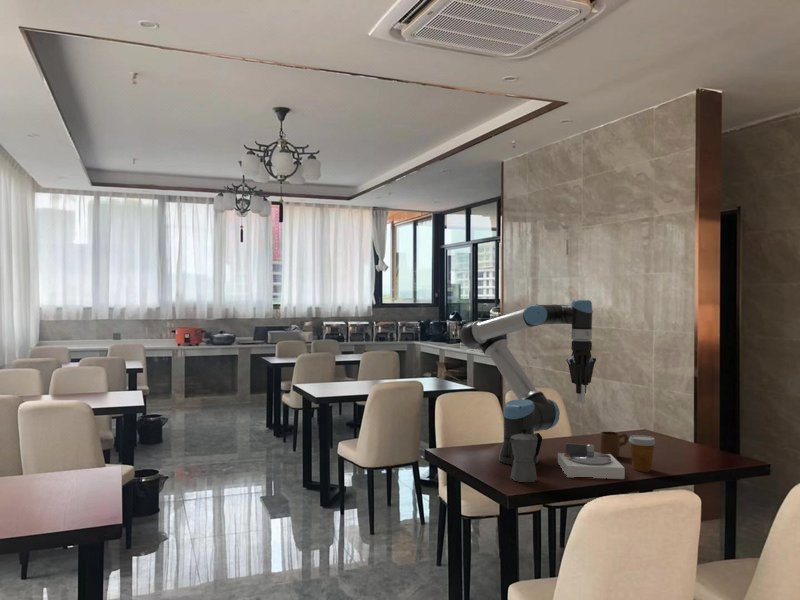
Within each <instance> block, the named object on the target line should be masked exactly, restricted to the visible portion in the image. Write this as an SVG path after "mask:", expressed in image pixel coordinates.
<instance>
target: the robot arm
mask: <svg viewBox="0 0 800 600" xmlns="http://www.w3.org/2000/svg"><path fill="white" fill-rule="evenodd" d="M543 325H571V339H572V341H571V345H570V346H571V351H572V353H571V357H569V358H566V360H565V361H566V362H567V364H568V369H569V374H570V381H571V383H572V384H573V385H575V393H576V394H577V395H576V402H578V403H581V404H582V403H585V402H586V394H587V386H588V385H589V384H590V383H591V382H592V377H593V372H594V367H595V364H596V362H597V358H595V357H593V356H592V353H591V351H592V349H593V341H591V340H593V302H592V301H591V300H589V299H572V301H571V304H558V303H557V304H539V303H536V304H530V305H529V306H527V307H526V308H523V309H520V310H516V311H513V312H510V313H507V314H504V315H500V316H497V317H493V318H489V319H487V320H484V321H482V320H476V321H469V322H467V323H466V324H464V325H463V326H462V327H461V329H460V334H459V337H460V340H461V343H463V345H464V346H465V347H466V348H469V349H472V350H474V349H476V350H477V349H480V350H481V351H482V353H483V354H484V355H485V357H489V358H490V359H491V360H492V362H493V363H494V365H495V366H496V367H497V369H498V371H499V373H500V374H501V376H502V378H503V379H504V380H505V382H506V383H507V385H508V387H509V389H510V390H511V391H512V393H513V394H514V396H515V398H516V399H513V400H510V401H509V400H508V401H507V402H506V403H505V404H504V406H503V407H504V408H503V441H502V445H501V447H500V451H499V453H498V461H499V462H500V461H501V462H500V463H502V462H503V463H502V464H505V463H506V464H505V465H509V464H511V465H510V466H513V461H514V455H513V451H512V444H511V441H510V439H511V436H513V435H516V434H522V429H524V428H525V429H527V430H526V434H529V435H531V434H535V433H536V432H540V431H547V430H549V429H552V428H554V427H555V426H556V425H557V424H558V422H559V421H560V414H561V412H560V408H559V405H558V404H557V403H556V402H555V401H554V400H552V399H550V398H547V397H546V395H545V394H544V393H543V392H542V391H541V390H540V391H539V390H537V388H535V385H534V384H533V383H532V381H531V379H529V377H528V375H527V374H526V372H525V371H524V369H523V368H522V366H521V365H520V363H519V361H518V360H517V359H516V357H515V355H514V354H513V353H512V351H511V350H510V347H508V345H509V341H508V335H509V334H511V333H514V332H518V331H522V330H525V329H529V328H533V327H538V326H543ZM535 453H536V452H535ZM533 460H534V462H535V465H536V464H538V463H539V455H538V456H536V457H533Z"/></svg>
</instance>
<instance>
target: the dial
mask: <svg viewBox="0 0 800 600" xmlns="http://www.w3.org/2000/svg"><path fill="white" fill-rule="evenodd" d="M565 445H566V446H565V453H566V455H569V459H570V460H571V461H573V462H577V463H581V464H588V465H604V464H609V463H610V462H611V457H610V456H609V455H607V454H604V453H600V451H599V452H597V451H595V445H594V444H592V443H588V444H586V443H585V444H583V443H575V442H574V443H573V442H572V443H570V442H566V443H565Z"/></svg>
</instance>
